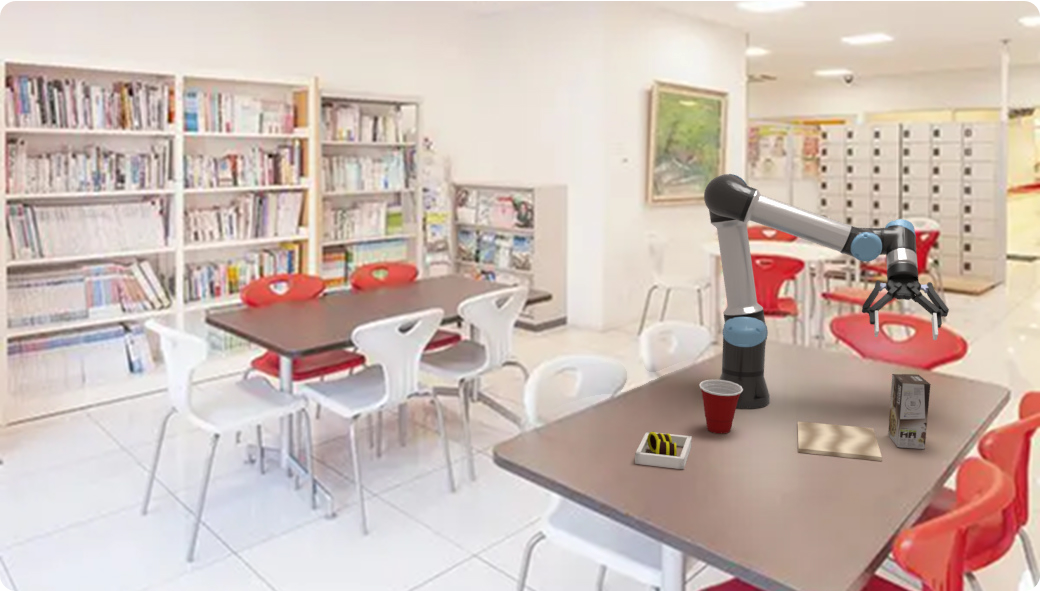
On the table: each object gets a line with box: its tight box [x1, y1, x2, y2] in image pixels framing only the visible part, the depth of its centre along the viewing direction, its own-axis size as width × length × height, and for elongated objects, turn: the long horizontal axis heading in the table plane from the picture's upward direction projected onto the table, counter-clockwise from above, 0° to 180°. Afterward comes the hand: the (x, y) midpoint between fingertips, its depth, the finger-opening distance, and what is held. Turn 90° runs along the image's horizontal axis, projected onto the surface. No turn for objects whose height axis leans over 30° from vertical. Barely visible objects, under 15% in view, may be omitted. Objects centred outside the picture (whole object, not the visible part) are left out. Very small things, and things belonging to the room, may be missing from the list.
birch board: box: [797, 421, 883, 462], centre depth 189 cm, size 18×20×1 cm
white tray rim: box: [634, 431, 693, 470], centre depth 182 cm, size 11×15×2 cm
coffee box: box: [887, 373, 932, 450], centre depth 187 cm, size 9×6×16 cm
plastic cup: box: [699, 379, 743, 435], centre depth 197 cm, size 11×11×12 cm
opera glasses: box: [647, 431, 678, 457], centre depth 181 cm, size 10×5×5 cm, turn 4°
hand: (905, 335), depth 197 cm, fingers open, 13 cm apart
